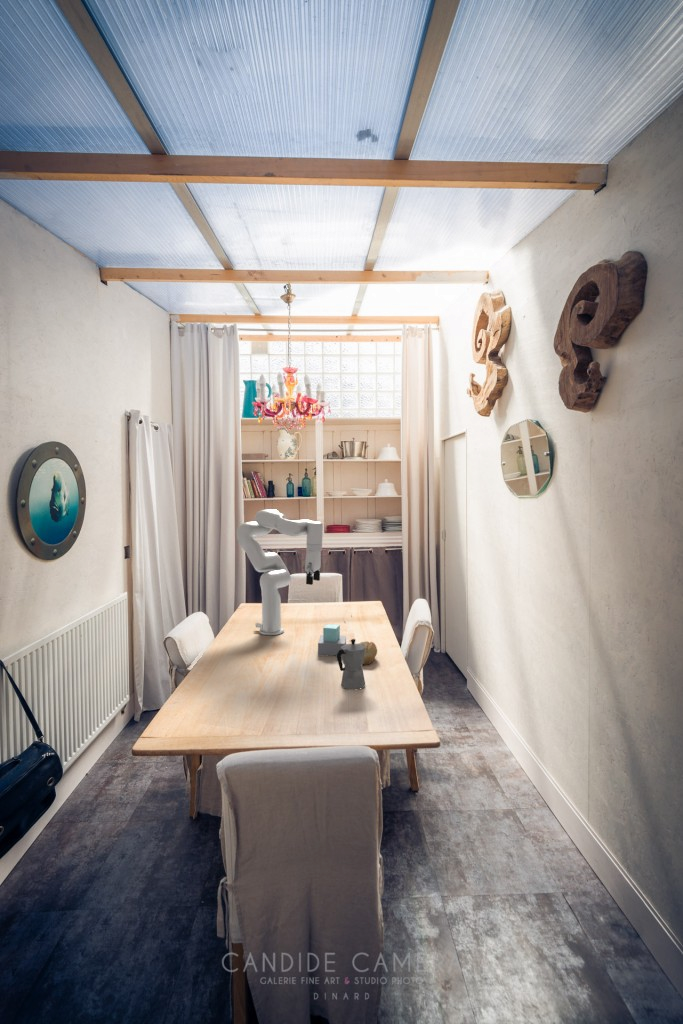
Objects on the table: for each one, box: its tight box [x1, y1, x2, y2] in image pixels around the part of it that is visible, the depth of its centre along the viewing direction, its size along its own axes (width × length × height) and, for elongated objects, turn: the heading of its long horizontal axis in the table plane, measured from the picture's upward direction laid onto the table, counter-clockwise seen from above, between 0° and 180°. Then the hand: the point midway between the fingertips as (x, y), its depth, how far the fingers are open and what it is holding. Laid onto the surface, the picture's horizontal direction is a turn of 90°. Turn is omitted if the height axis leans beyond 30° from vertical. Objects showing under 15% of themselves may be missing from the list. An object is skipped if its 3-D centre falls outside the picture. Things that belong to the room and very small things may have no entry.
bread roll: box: [360, 640, 378, 666], centre depth 232 cm, size 10×15×8 cm, turn 175°
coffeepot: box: [336, 638, 366, 691], centre depth 202 cm, size 15×9×18 cm, turn 137°
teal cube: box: [322, 623, 341, 642], centre depth 243 cm, size 6×6×6 cm
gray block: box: [317, 634, 347, 657], centre depth 243 cm, size 12×12×6 cm
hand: (313, 582), depth 257 cm, fingers open, 9 cm apart
